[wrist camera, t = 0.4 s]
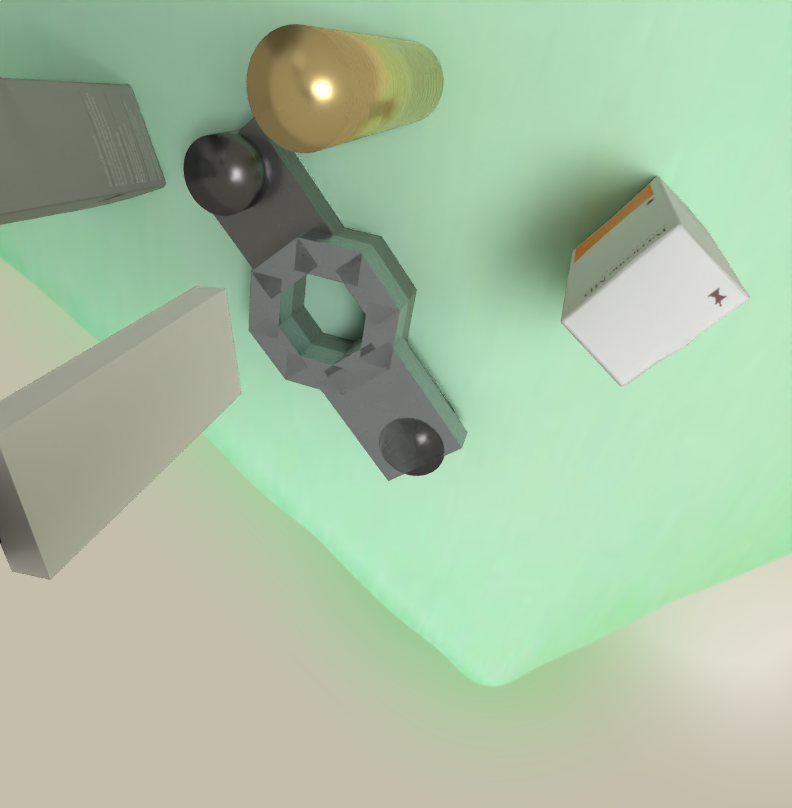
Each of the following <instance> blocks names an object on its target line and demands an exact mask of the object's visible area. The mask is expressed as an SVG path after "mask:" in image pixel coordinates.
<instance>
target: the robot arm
mask: <svg viewBox="0 0 792 808" xmlns="http://www.w3.org/2000/svg"><path fill="white" fill-rule="evenodd" d="M240 395H241V387H240V381H239V374H238V368H237V361H236V354H235V348H234V341H233V335H232V328H231V321H230V315H229V308H228V302H227V295H226V289H225V288H212V287H199V286H196V287H194V288H192V289H191V290H189V291H187V292H185V293H184V294H182V295H180V296H179V297H177V298H175V299H173V300H172V301H170V302H168V303H167V304H165V305H163V306H162V307H160V308H158V309H156V310H155V311H153V312H151V313H150V314H148V315H146V316H144V317H143V318H141V319H139V320H138V321H136V322H134V323H133V324H131V325H129V326H127V327H126V328H124V329H122V330H121V331H119V332H117V333H115V334H114V335H112V336H110V337H109V338H107V339H105V340H104V341H102V342H100V343H98V344H97V345H95V346H93V347H92V348H90V349H88V350H86V351H85V352H83V353H81V354H80V355H78V356H76V357H75V358H73V359H71V360H69V361H68V362H66V363H64V364H63V365H61V366H59V367H57V368H56V369H54V370H52V371H51V372H49V373H47V374H45V375H44V376H42V377H40V378H39V379H37V380H35V381H34V382H32V383H30V384H28V385H27V386H25V387H23V388H22V389H20V390H18V391H16V392H15V393H13V394H11V395H10V396H8V397H6V398H5V399H3V400H1V401H0V544H1V546H2V549H3V551H4V554H5V556H6V558H7V561H8V563H9V566H10V568H11V570H12V572H17V573H22V574H27V575H31V576H36V577H41V578H45V579H50V580H51V579H52V578H53V577H54V576H55V575H56V574H57V573H58V572H59V571H60V570H61V569H62V568H63V567H64V566H65V565H66V564H67V563H68V562H69V561H70V560H71V559H72V558H73V557H74V556H75V555H77V554H78V553H79V551H81V550H82V549H83V548H84V546H86V545H87V544H88V543H89V542H90V541H91V540H92V539H93V538H94V537H95V536H96V535H97V534H98V533H99V532H100V531H101V530H102V529H103V528H104V527H105V526H106V525H107V524H108V523H109V522H110V521H111V520H112V519H113V518H115V516H116V515H118V514H119V513H120V512H121V511H122V510H123V509H124V508H125V507H126V506H127V505H128V504H129V503H130V502H131V501H132V500H133V499H134V498H135V497H136V496H137V495H138V494H139V493H140V492H141V491H142V490H143V489H144V488H145V487H146V486H147V485H148V484H149V483H150V482H152V481H153V480H154V479H155V478H156V477H157V476H158V475H159V474H160V473H161V472H162V471H163V470H164V469H165V468H166V467H167V466H168V465H169V464H170V463H171V462H172V461H173V460H174V459H175V458H176V457H177V456H178V455H179V454H180V453H181V452H182V451H183V450H184V449H185V448H186V447H187V446H188V445H189V444H191V443H192V442H193V440H195V439H196V438H197V437H198V436H199V435H200V434H201V433H202V432H203V431H204V430H205V429H206V428H207V427H208V426H209V425H210V424H211V423H212V422H213V421H214V420H215V419H216V418H217V417H218V416H219V415H220V414H221V413H222V412H223V411H224V410H225V409H227V408H228V407H229V406H230V405H231V404H232V403H233V402H234V401H235V400H236V399H237V398H238V397H239V396H240Z"/></svg>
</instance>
